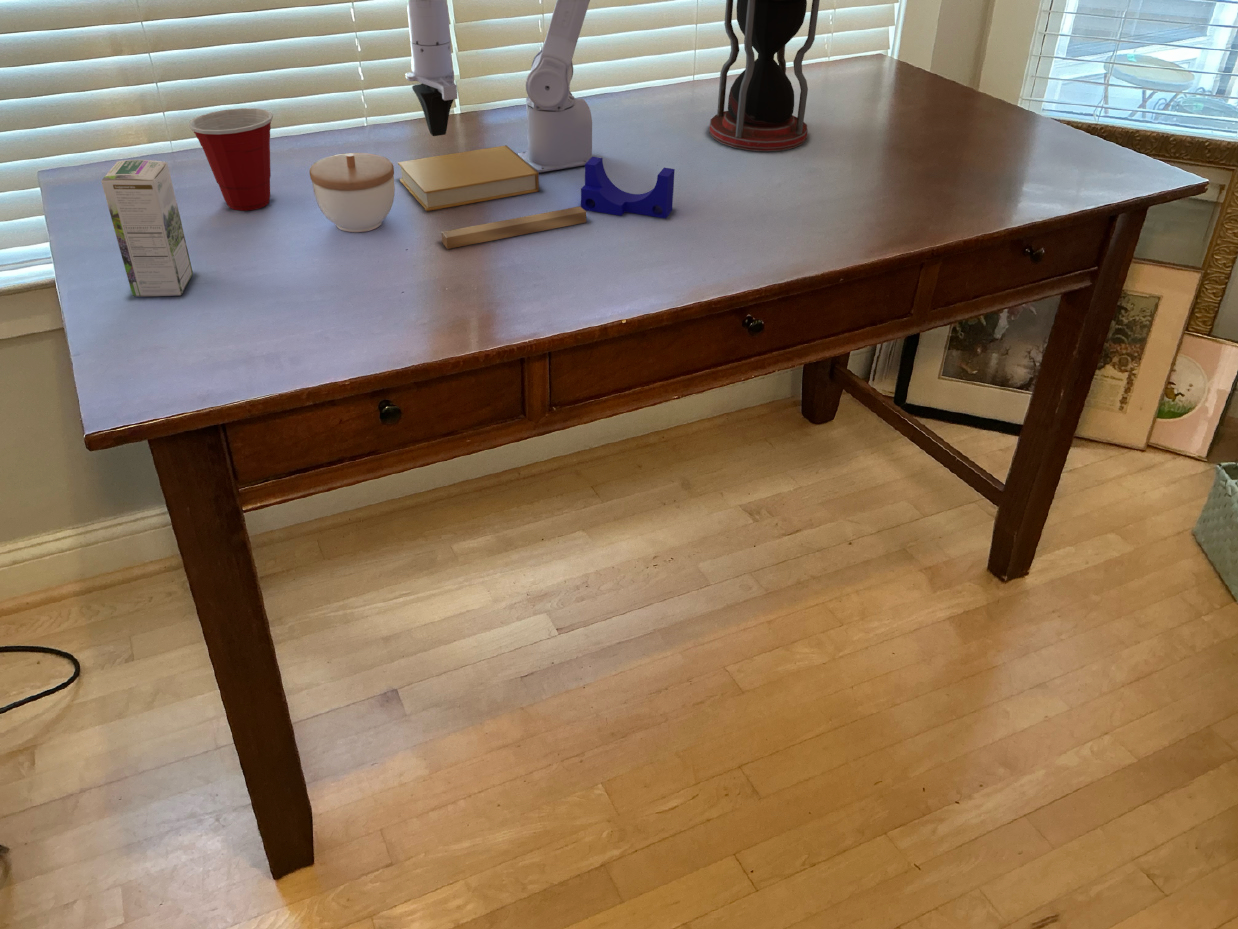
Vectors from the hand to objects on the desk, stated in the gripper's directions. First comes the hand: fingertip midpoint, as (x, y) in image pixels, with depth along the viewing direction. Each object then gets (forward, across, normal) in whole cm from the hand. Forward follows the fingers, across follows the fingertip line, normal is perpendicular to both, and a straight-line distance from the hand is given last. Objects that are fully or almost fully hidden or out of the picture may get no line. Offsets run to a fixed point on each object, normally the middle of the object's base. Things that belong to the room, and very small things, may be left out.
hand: (438, 133), depth 156 cm
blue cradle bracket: (+4, +29, +17) cm, 34 cm away
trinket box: (+4, +18, -18) cm, 26 cm away
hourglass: (+4, +11, +51) cm, 52 cm away
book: (+4, +12, 0) cm, 13 cm away
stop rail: (+4, +30, 0) cm, 30 cm away
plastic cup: (+4, +5, -30) cm, 31 cm away
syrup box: (+4, +26, -44) cm, 51 cm away
